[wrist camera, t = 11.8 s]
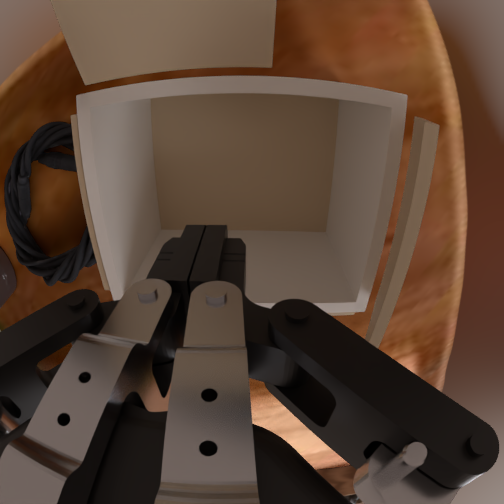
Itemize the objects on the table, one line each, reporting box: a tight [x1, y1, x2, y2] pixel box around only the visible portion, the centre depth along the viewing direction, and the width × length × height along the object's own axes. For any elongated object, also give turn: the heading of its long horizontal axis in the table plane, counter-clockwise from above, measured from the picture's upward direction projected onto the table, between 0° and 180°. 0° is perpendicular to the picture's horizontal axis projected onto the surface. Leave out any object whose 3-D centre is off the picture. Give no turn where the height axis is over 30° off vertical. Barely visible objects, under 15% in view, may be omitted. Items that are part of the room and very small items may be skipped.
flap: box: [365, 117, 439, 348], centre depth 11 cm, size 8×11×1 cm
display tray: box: [316, 466, 362, 504], centre depth 62 cm, size 23×23×9 cm
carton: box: [71, 76, 407, 316], centre depth 19 cm, size 17×14×10 cm
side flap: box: [50, 0, 276, 85], centre depth 8 cm, size 9×7×1 cm
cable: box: [4, 122, 97, 286], centre depth 23 cm, size 17×14×4 cm
